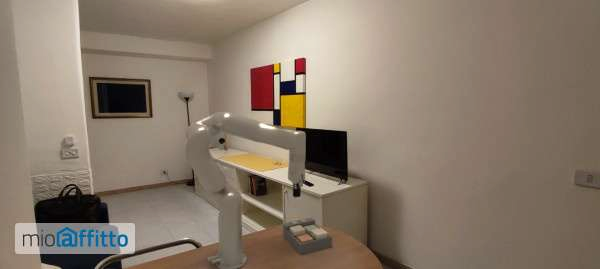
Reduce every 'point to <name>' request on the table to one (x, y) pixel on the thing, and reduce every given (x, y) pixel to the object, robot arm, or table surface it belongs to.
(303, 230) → the key cream left
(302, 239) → the key terracotta
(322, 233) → the key cream right
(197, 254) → the table surface
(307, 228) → the key sage
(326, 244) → the keypad
